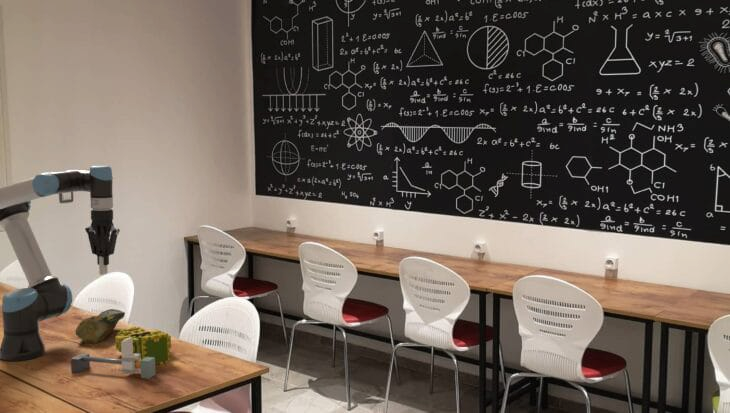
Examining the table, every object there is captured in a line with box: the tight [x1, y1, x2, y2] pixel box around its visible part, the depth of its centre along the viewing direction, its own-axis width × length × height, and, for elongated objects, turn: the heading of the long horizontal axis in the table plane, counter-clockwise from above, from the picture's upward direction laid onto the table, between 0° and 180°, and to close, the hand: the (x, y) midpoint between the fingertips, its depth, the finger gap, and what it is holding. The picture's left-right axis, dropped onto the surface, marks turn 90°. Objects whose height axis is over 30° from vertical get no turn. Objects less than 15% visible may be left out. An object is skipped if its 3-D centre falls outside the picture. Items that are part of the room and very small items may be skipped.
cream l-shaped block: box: [121, 337, 141, 375], centre depth 249 cm, size 4×5×11 cm
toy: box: [114, 326, 172, 365], centre depth 272 cm, size 17×10×30 cm
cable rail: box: [70, 352, 156, 380], centre depth 251 cm, size 29×6×6 cm, turn 75°
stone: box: [75, 308, 126, 344], centre depth 294 cm, size 15×12×25 cm
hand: (103, 273), depth 268 cm, fingers closed
